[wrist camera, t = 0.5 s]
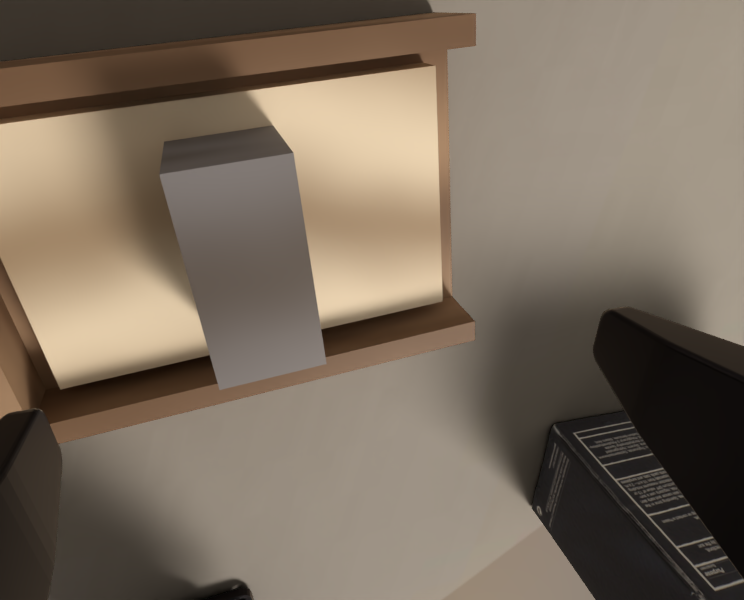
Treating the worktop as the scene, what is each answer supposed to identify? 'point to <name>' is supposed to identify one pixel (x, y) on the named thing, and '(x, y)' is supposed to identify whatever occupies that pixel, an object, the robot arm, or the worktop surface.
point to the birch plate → (130, 233)
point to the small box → (626, 518)
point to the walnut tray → (208, 73)
